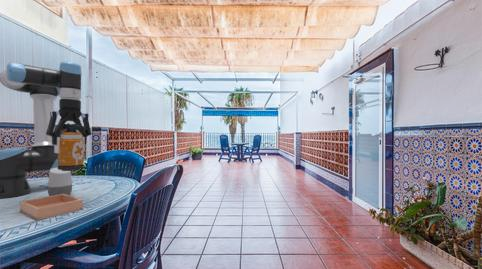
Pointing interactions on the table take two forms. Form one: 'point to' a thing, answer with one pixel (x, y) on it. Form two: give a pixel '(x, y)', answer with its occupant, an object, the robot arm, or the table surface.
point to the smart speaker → (59, 182)
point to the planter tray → (50, 206)
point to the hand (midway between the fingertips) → (70, 152)
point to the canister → (70, 148)
